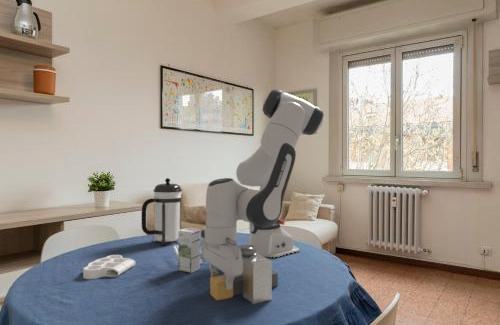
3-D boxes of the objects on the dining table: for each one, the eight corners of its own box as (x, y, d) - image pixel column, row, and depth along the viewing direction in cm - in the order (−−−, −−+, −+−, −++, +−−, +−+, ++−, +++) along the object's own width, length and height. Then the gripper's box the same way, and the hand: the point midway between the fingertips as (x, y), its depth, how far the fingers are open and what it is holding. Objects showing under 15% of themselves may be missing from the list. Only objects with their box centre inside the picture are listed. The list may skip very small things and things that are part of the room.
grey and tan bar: (270, 282, 112) (270, 266, 112) (279, 287, 107) (279, 271, 107) (210, 294, 102) (210, 277, 102) (217, 300, 97) (217, 282, 97)
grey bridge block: (240, 278, 114) (240, 239, 114) (271, 299, 98) (272, 253, 98) (224, 281, 112) (224, 241, 111) (253, 304, 95) (253, 256, 95)
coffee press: (156, 237, 171) (156, 177, 170) (188, 239, 169) (188, 177, 168) (140, 246, 154) (140, 179, 153) (175, 248, 152) (175, 179, 151)
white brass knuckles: (112, 282, 112) (72, 279, 115) (139, 265, 130) (103, 262, 132) (112, 271, 112) (72, 269, 114) (139, 256, 130) (103, 254, 132)
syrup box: (200, 268, 125) (200, 228, 124) (191, 273, 119) (191, 231, 119) (187, 266, 127) (187, 226, 127) (177, 271, 122) (177, 230, 121)
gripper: (248, 241, 92) (248, 293, 92) (216, 228, 110) (216, 271, 110) (227, 244, 89) (227, 297, 89) (198, 230, 107) (198, 274, 107)
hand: (221, 283), depth 100 cm, fingers open, 8 cm apart
